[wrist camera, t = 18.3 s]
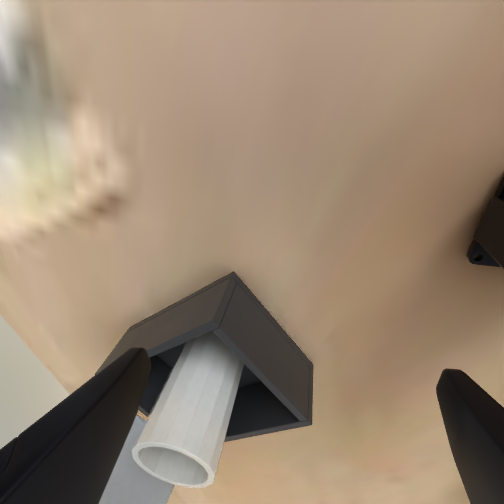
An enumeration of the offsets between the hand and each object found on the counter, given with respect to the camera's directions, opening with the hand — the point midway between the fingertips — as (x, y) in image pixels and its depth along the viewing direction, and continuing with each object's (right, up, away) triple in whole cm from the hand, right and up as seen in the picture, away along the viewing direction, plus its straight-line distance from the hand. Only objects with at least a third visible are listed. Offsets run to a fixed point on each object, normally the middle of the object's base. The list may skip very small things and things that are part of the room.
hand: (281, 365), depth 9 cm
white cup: (-4, -6, +19) cm, 21 cm away
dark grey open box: (-4, -6, +20) cm, 21 cm away
